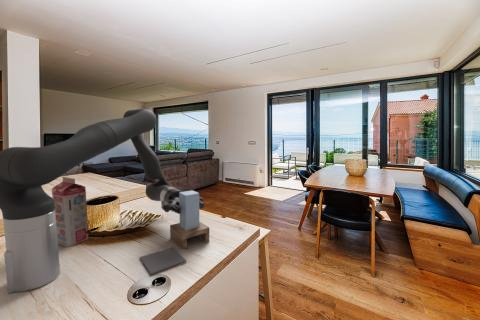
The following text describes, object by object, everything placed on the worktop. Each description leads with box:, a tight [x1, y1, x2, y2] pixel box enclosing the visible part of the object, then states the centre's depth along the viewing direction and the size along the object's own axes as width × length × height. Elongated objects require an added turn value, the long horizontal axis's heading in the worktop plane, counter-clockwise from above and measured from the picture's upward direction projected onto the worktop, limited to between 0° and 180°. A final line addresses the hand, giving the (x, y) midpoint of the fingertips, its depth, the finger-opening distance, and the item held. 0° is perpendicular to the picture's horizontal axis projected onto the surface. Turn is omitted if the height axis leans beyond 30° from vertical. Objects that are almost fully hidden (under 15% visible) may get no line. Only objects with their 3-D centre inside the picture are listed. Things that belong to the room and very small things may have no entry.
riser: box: [169, 220, 210, 251], centre depth 77 cm, size 10×10×5 cm
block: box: [179, 189, 200, 231], centre depth 76 cm, size 5×5×12 cm
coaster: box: [139, 246, 187, 276], centre depth 65 cm, size 10×10×1 cm
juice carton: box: [51, 176, 89, 248], centre depth 75 cm, size 7×7×22 cm
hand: (191, 208), depth 75 cm, fingers open, 8 cm apart
